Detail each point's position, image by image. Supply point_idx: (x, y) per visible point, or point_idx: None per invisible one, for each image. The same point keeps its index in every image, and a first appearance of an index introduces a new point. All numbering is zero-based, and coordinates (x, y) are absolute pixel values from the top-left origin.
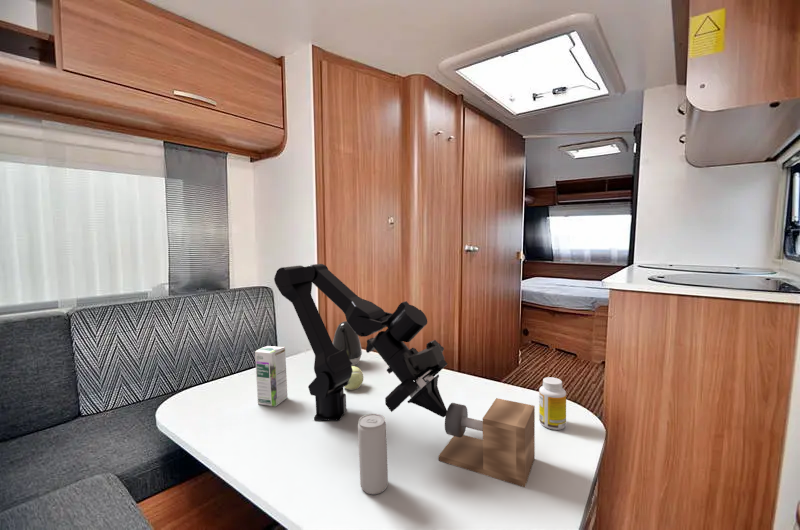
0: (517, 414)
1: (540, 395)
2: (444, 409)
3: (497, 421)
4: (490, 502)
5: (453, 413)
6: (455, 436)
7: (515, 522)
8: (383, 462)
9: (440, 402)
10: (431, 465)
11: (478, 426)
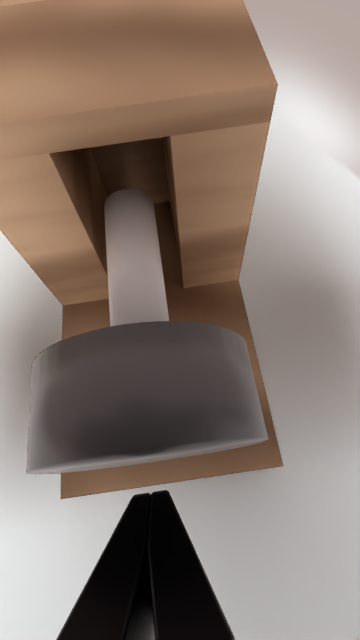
0: (105, 1)
1: None
2: (148, 524)
3: (250, 28)
4: (329, 228)
5: (224, 368)
6: (94, 481)
7: (342, 168)
8: None
9: (133, 603)
10: (327, 475)
11: (160, 256)
